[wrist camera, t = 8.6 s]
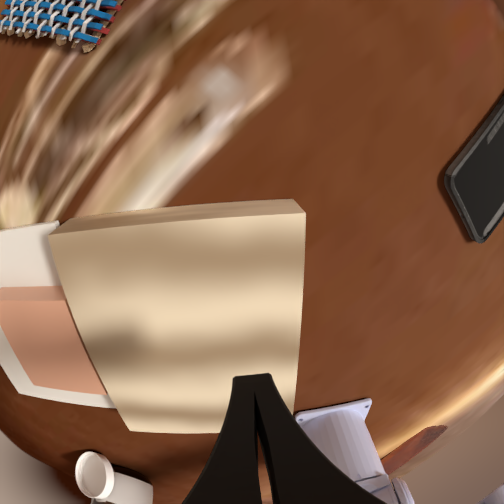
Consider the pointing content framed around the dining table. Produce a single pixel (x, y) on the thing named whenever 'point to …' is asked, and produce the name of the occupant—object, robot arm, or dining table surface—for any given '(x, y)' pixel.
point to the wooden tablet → (411, 448)
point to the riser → (186, 305)
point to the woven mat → (60, 19)
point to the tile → (47, 339)
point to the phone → (480, 178)
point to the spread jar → (111, 481)
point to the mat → (28, 275)
